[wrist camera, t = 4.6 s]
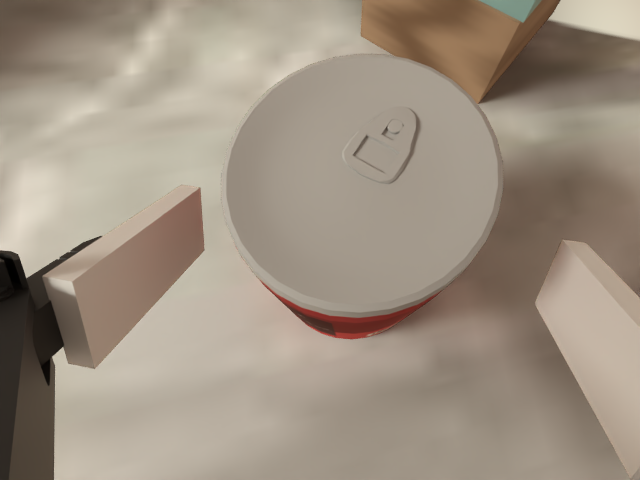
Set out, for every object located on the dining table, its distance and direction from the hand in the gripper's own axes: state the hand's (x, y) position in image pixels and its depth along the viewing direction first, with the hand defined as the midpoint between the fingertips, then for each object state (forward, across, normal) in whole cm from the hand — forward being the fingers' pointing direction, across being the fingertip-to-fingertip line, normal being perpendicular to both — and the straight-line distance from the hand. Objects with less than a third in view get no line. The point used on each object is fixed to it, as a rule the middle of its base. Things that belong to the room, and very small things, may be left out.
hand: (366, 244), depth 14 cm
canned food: (+5, -1, -4) cm, 7 cm away
